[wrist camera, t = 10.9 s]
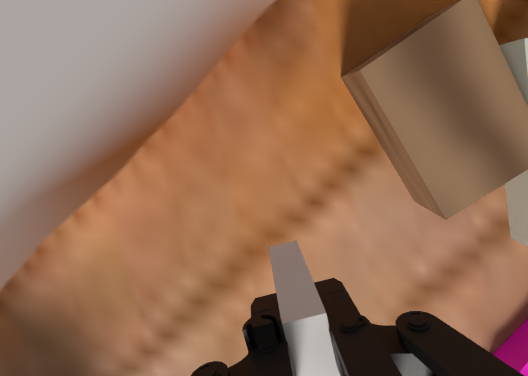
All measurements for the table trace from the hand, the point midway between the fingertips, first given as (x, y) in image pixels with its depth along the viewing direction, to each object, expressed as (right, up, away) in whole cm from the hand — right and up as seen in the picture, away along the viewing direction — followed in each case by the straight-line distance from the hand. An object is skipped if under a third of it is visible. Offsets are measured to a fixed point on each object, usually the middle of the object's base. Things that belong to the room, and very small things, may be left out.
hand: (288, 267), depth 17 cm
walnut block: (+11, +10, +9) cm, 18 cm away
